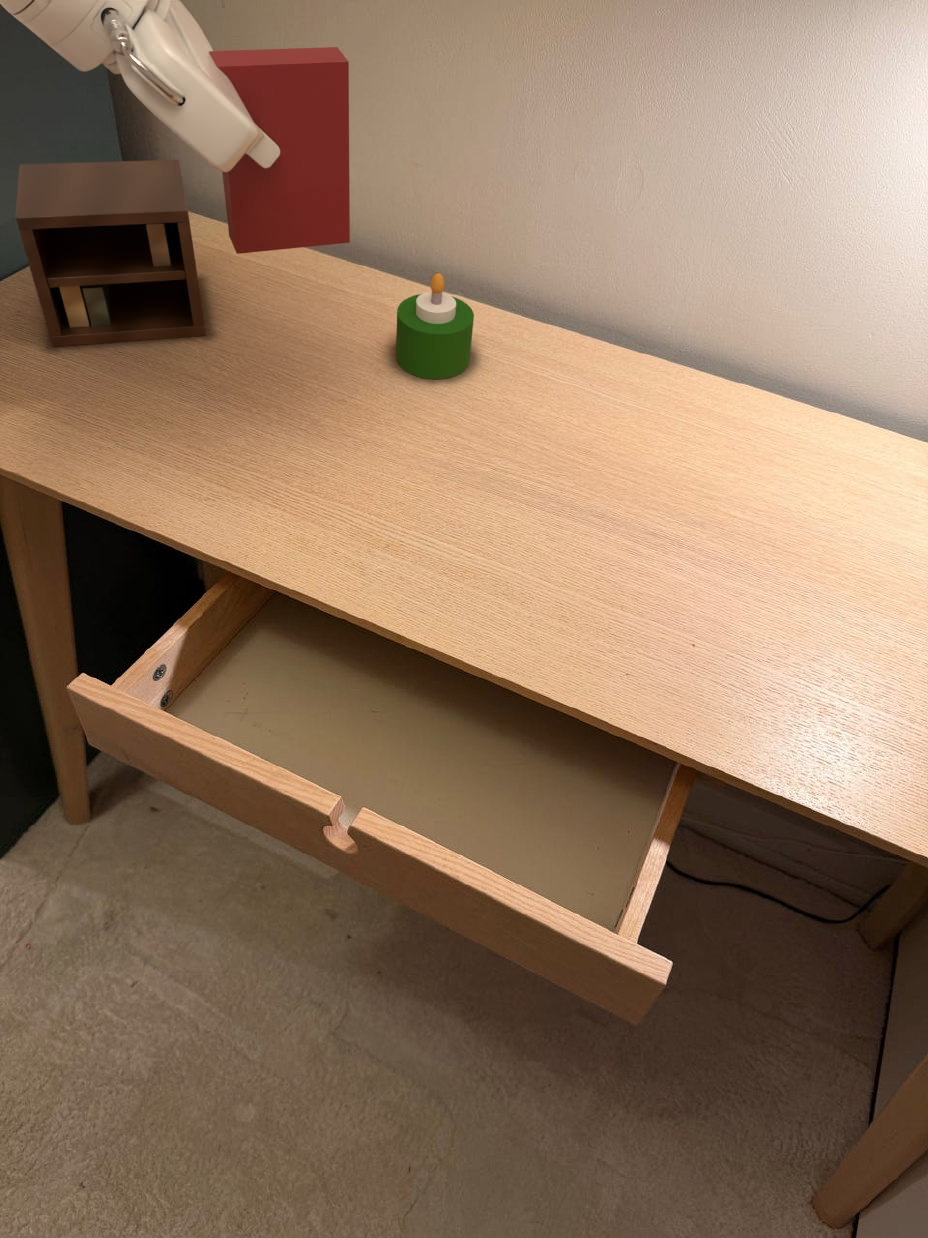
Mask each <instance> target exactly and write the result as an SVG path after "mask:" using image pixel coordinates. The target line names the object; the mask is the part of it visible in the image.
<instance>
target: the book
mask: <svg viewBox="0 0 928 1238" xmlns="http://www.w3.org/2000/svg"><path fill="white" fill-rule="evenodd" d="M209 53H210V55H211V57H212V59H213V60H214V62H215V64H216V66H217V67H218V68H219V69H220V70H221V71H222V72H223V73H224V74H225V75H226V76H227V77H228V78H229V80H230V81H231V83H232V84H233V86H234V88H235V90H236V91H237V93H238V95H239V97H240V98H241V100H242V102H243V104H244V106H245V107H246V109H247V111H248V113H249V114H250V116H251V118H252V120H253V121H254V123H255V124H256V125H257V126H258V127H259V126H260V127H261V128H262V129H263V130H264V131H265V132H266V133H267V134H268V135H269V136H271V137H272V138H273V139H274V140H275V142H276V144H277V145H278V147H279V149H280V155H279V157H278V158H277V159H276V160H275V162H274V163H273V164H272V165H271V166H270V167H268V168H263V167H262V166H260V165H259V164H258V163H257V162H256V161H255V160H254V159H252V158H251V157H250V156H249V155H248V154H244V156H243V157H242V158H241V159H240V160H239V161H238V163H237V164H236V165H235V166H234V167H233V168H232V169H231V170H230V171H229V172H223V171H221V173H222V183H223V192H224V201H225V202H224V203H225V210H226V219H227V228H228V229H227V230H228V236H229V237H228V238H230V241H231V244H232V246H233V248H234V251H235V253H236V255H240V254H241V255H242V254H250V253H251V254H252V253H260V252H269V251H270V252H271V251H280V250H289V249H301V248H310V247H320V246H329V245H339V244H350V243H351V218H350V217H351V216H350V215H351V214H350V213H351V209H350V208H351V207H350V204H351V203H350V200H351V199H350V192H351V191H350V74H349V72H350V64H349V63H350V61H349V60H348V59H347V57H346V56H345V55H344V54H343V52H342V51H341V50H340V49H339V47H337V46H327V47H326V46H325V47H296V48H268V49H267V48H265V49H264V48H263V49H262V48H261V49H234V50H213V51H209Z"/></svg>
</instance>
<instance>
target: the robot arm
mask: <svg viewBox="0 0 928 1238" xmlns="http://www.w3.org/2000/svg"><path fill="white" fill-rule="evenodd" d="M0 5H1V6H2V7H3V9H5V11H7V13H9V14H10V15H12V16H13V17H14V18H15V19H16V20H17V21H19V22H20V23H21V24H22V25H23V26H25V28H27V29H29V30H30V31H31V33H33V34H35V35H36V36H37V37H38V38H39V39H41V40H42V41H43V42H44V43H45V44H46V45H48V46H49V47H50V48H51V49H52V50H53V51H55V52H56V53H57V54H58V55H59V56H61V57H62V58H63V59H64V60H65V61H67V62H68V63H69V64H70V65H72V66H73V67H74V68H75V69H76V70H78V71H80V72H83V73H85V72H89V71H92V70H94V69H96V68H98V67H99V66H100V65H103V66H104V67H105V68H106V69H107V70H109V71H110V72H111V73H112V74H114V75H121V77H122V79H123V81H124V83H125V86H126V87H127V88H128V89H129V91H131V93H132V94H133V95H134V96H135V97H136V98H137V100H138V101H139V102H140V103H141V104H143V105H144V107H146V108H147V110H148V111H150V113H152V114H153V115H154V116H155V117H156V118H157V119H158V120H159V121H160V122H162V124H163V125H165V126H166V127H167V128H168V129H169V130H170V131H171V132H172V133H174V134H175V135H176V136H177V137H178V138H180V140H181V141H182V142H184V143H185V144H186V146H188V147H189V148H190V149H191V150H193V151H194V152H195V153H196V154H197V155H198V156H199V157H200V158H201V159H203V160H204V161H205V162H206V163H207V164H209V165H210V166H211V167H213V168H214V169H216V170H218V171H221V172H222V171H223V172H229V171H230V170H231V169H232V168H233V167H234V166H235V165H236V164H237V163H238V161H239V160H240V159H241V158H242V157H243V156H244V154H248V155H249V156H250V157H251V158H252V159H254V160H255V161H256V162H257V163H258V164H259V165H260V166H262V167H263V168H268V167H270V166H271V165H272V164H273V163H274V162H275V160H276V159H277V158H278V157H279V155H280V149H279V147H278V145H277V144H276V142H275V140H274V139H273V138H272V137H271V136H269V135H268V134H267V133H266V132H265V131H264V130H263V129H262V128H261V127H260V126H259V127H258V126H257V125H256V124H255V123H254V121H253V120H252V118H251V116H250V114H249V113H248V111H247V109H246V107H245V106H244V104H243V102H242V100H241V98H240V97H239V95H238V93H237V91H236V90H235V88H234V86H233V84H232V83H231V81H230V80H229V78H228V77H227V76H226V75H225V74H224V73H223V72H222V71H221V70H220V69H219V68H218V67H217V66H216V64H215V62H214V60H213V59H212V57H211V55H210V53H209V51H214V49H213V48H212V47H213V46H212V45H211V44H210V42H209V40H208V38H207V37H206V35H205V34H204V33H205V32H204V30H203V29H202V28H201V26H200V25H199V23H198V22H197V20H196V19H195V18H194V17H193V15H192V13H191V12H190V11H189V9H187V8H186V6H185V5H184V3H183V2H182V1H181V0H0Z"/></svg>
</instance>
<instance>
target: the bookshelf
mask: <svg viewBox="0 0 928 1238" xmlns="http://www.w3.org/2000/svg"><path fill="white" fill-rule="evenodd" d="M180 162H181V161H180V160H179V159H156V160H154V159H153V160H130V161H129V160H124V161H123V160H121V161H119V160H118V161H90V162H89V161H88V162H58V163H57V162H56V163H55V162H54V163H25V164H23V163H20V164H19V170H18V182H17V195H16V207H15V221H16V225H17V229H18V233H19V236H20V239H21V242H22V246H23V250H24V253H25V257H26V259H27V264H28V267H29V270H30V274H31V277H32V280H33V283H34V287H35V290H36V294H37V297H38V300H39V305H40V307H41V311H42V315H43V319H44V321H45V324H46V328H47V332H48V335H49V339H50V341H51V345H52V347H53V348H56V347H70V346H71V347H72V346H82V345H83V346H85V345H96V344H108V343H109V344H110V343H124V342H136V341H138V342H139V341H150V340H151V341H152V340H163V339H176V338H189V337H202V336H207V331H206V325H205V316H204V311H203V304H202V295H201V292H200V291H201V290H200V283H199V278H198V277H199V276H198V270H197V269H198V268H197V263H196V255H195V250H194V243H193V236H192V229H191V223H190V216H189V209H188V203H187V197H186V192H185V187H184V180H183V175H182V174H183V173H182V169H181V163H180Z"/></svg>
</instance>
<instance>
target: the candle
mask: <svg viewBox="0 0 928 1238" xmlns="http://www.w3.org/2000/svg"><path fill="white" fill-rule="evenodd" d="M444 289H445V280H444V276H443V275H442V274H441V273H440V272H438V273H435V274H434V275H433V277H432V278H431V281H430V290H431V291H427V292H424V293H419V294H415V295H412V296H409V297H407V298H405V299H404V300H402V301H401V302H400V303H399V305H398V306H397V308H396V309H397V310H396V340H395V359H396V363H397V364H398V365H399V367H400V368H401V369H402V370H403V371H405V372H407V373H408V374H410V375H413V376H415V377H418V378H424V379H429V380H444V379H445V380H446V379H451V378H454V377H457V376H458V375H461V374H463V373H464V372H465V371H466V370H467V369H468V367H469V366H470V361H471V349H472V339H473V329H474V321H475V320H474V319H475V314H474V311H473V309H472V308H471V306H470V305H469V304H468V303H466V302H465V301H463V300H462V299H460V298H458V297H455V296H452V295H449V294H448V293H445V292H443V291H444Z"/></svg>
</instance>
